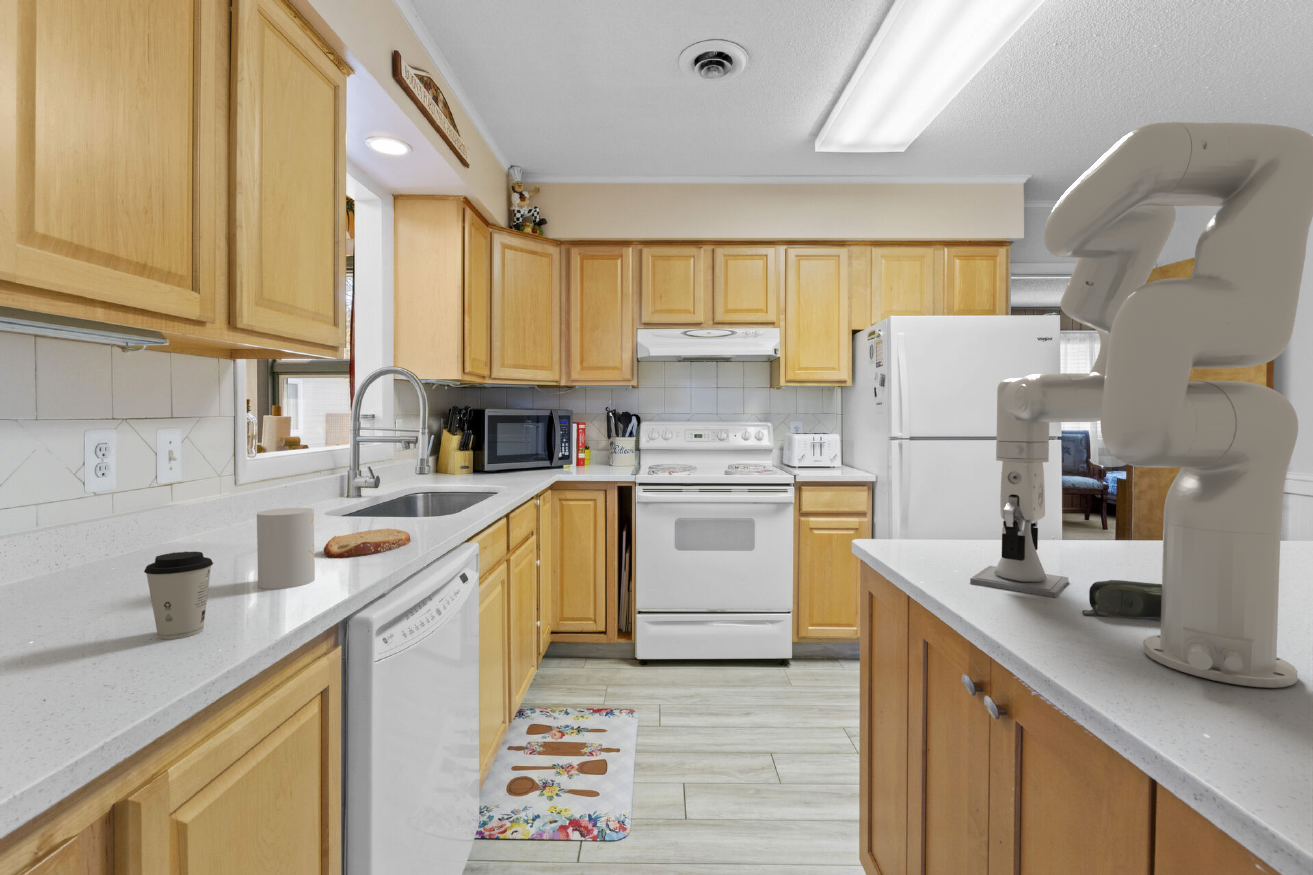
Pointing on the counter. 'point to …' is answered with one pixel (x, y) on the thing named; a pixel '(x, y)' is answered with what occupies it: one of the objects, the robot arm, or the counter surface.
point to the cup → (285, 548)
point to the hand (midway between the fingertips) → (1020, 554)
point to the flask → (1023, 562)
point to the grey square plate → (1021, 583)
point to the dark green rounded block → (1125, 599)
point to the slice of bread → (365, 543)
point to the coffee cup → (179, 593)
